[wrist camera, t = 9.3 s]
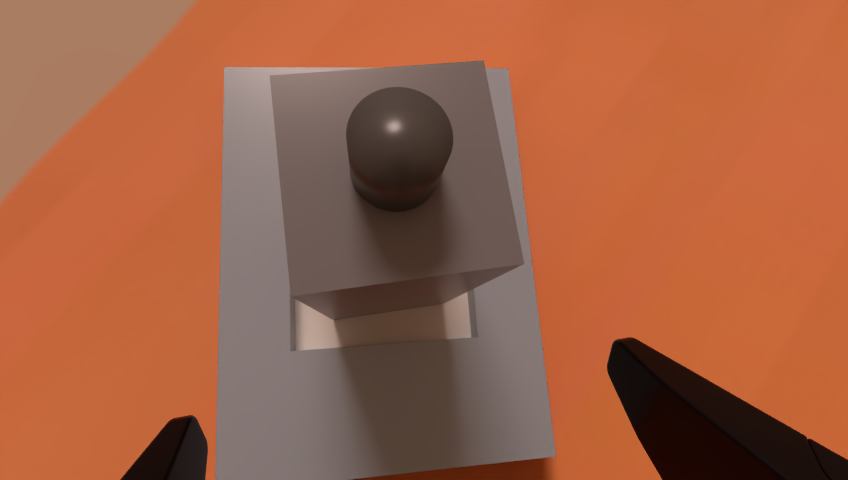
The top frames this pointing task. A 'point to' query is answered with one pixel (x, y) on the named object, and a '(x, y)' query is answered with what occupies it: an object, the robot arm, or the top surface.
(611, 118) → the top surface
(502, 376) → the socket
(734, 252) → the top surface
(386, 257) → the plug
